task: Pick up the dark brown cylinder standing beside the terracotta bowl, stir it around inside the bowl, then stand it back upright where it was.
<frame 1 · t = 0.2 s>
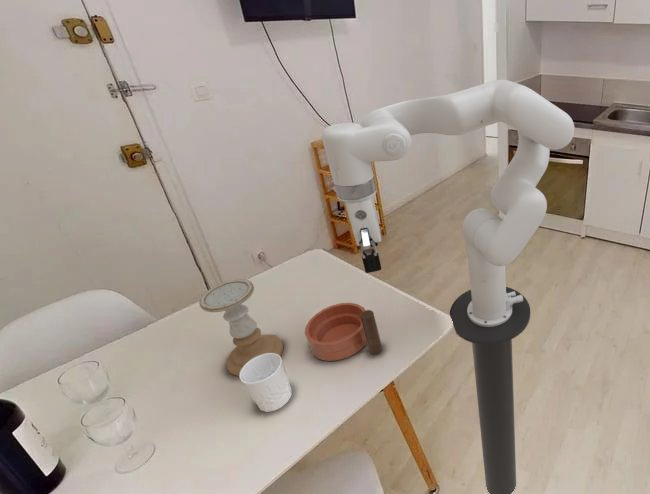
hand: (372, 258, 89), 28 cm above the table, tool pointing down, fingers open, 9 cm apart
white cup: (275, 399, 90), on the table
bowl: (342, 339, 105), on the table
candle holder: (256, 357, 101), on the table
dark brown cylinder: (376, 350, 101), on the table
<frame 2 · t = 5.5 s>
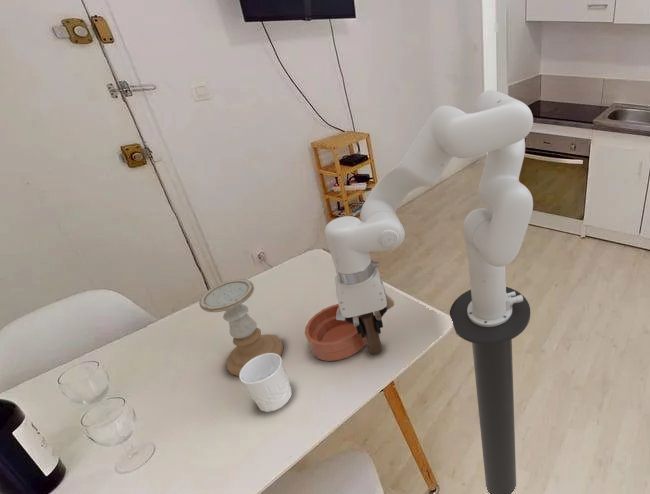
hand: (371, 331, 98), 7 cm above the table, tool pointing down, fingers closed on dark brown cylinder, 3 cm apart
dark brown cylinder: (376, 350, 101), on the table, touching gripper
everything else where it was.
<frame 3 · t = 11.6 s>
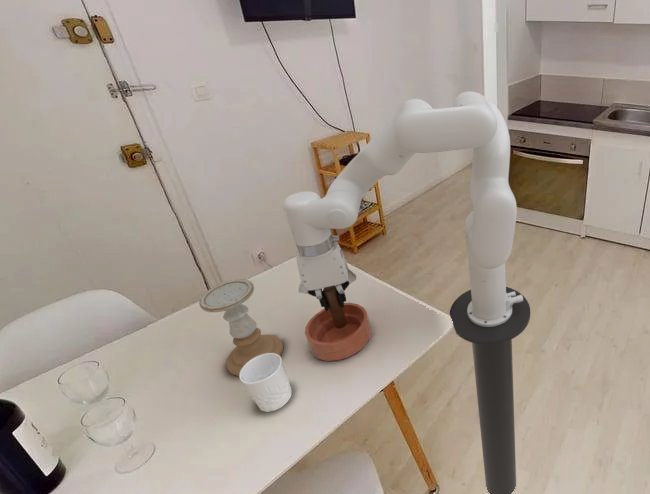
hand: (334, 305, 102), 10 cm above the table, tool pointing down, fingers closed on dark brown cylinder, 3 cm apart
dark brown cylinder: (341, 324, 105), point 3 cm above the table, touching gripper
everything else where it was.
when the fingers open (7 cm above the table, at t = 17.8 s): dark brown cylinder stays where it is, on the table.
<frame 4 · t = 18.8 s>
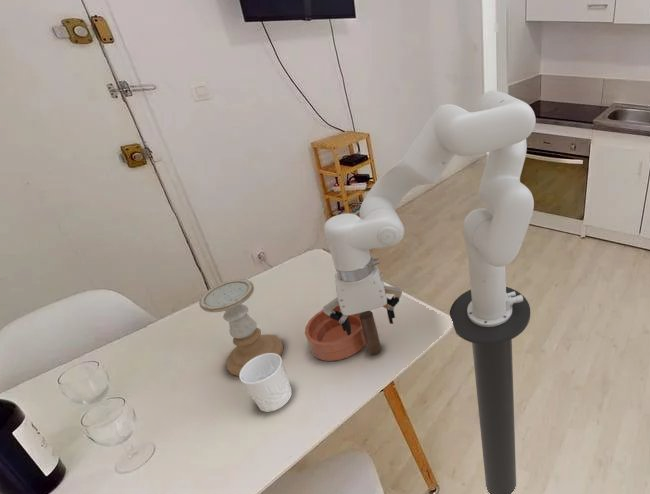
hand: (370, 325, 97), 8 cm above the table, tool pointing down, fingers open, 9 cm apart
dark brown cylinder: (375, 350, 101), on the table
everything else where it was.
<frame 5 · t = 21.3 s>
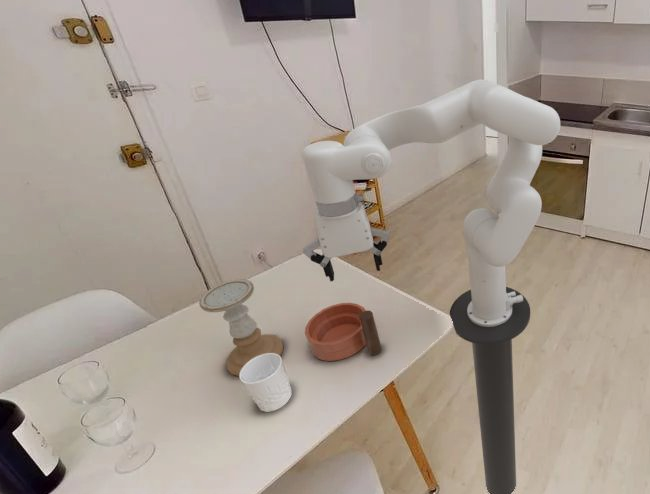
hand: (355, 272, 89), 24 cm above the table, tool pointing down, fingers open, 9 cm apart
nothing on the table moved.
at the end: dark brown cylinder tilted 0°; dark brown cylinder 0.2 cm from the target spot, on the table; the gripper is holding nothing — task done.
